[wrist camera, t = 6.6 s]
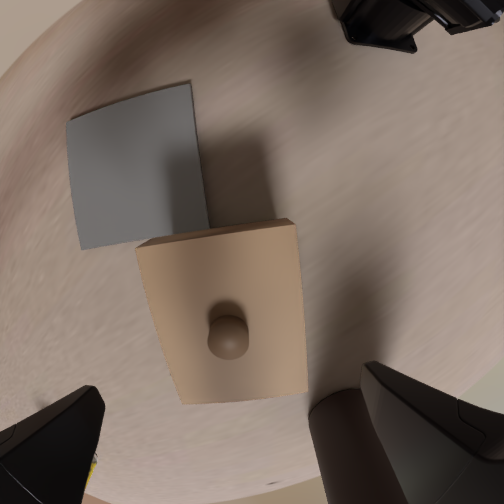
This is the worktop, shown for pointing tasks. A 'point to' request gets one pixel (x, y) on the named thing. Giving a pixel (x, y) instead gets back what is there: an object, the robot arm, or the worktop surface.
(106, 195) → the mat
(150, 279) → the cover
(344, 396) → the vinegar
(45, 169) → the worktop surface
